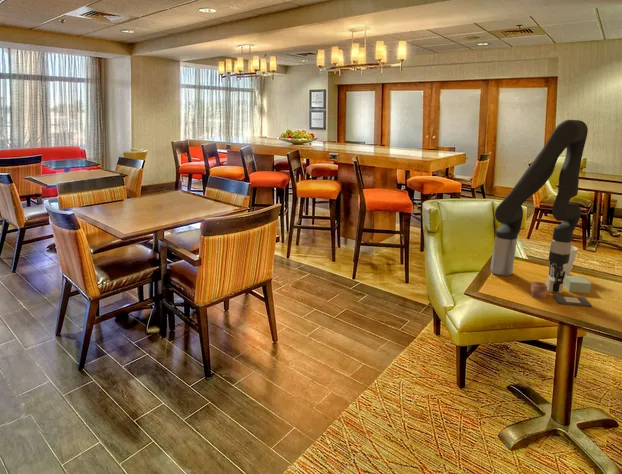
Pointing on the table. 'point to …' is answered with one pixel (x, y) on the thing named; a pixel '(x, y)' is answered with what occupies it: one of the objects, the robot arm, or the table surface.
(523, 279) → the table surface
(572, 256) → the foam cup
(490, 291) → the table surface
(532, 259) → the table surface
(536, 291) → the terracotta cube
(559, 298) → the card
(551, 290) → the cream cube
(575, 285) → the green block
